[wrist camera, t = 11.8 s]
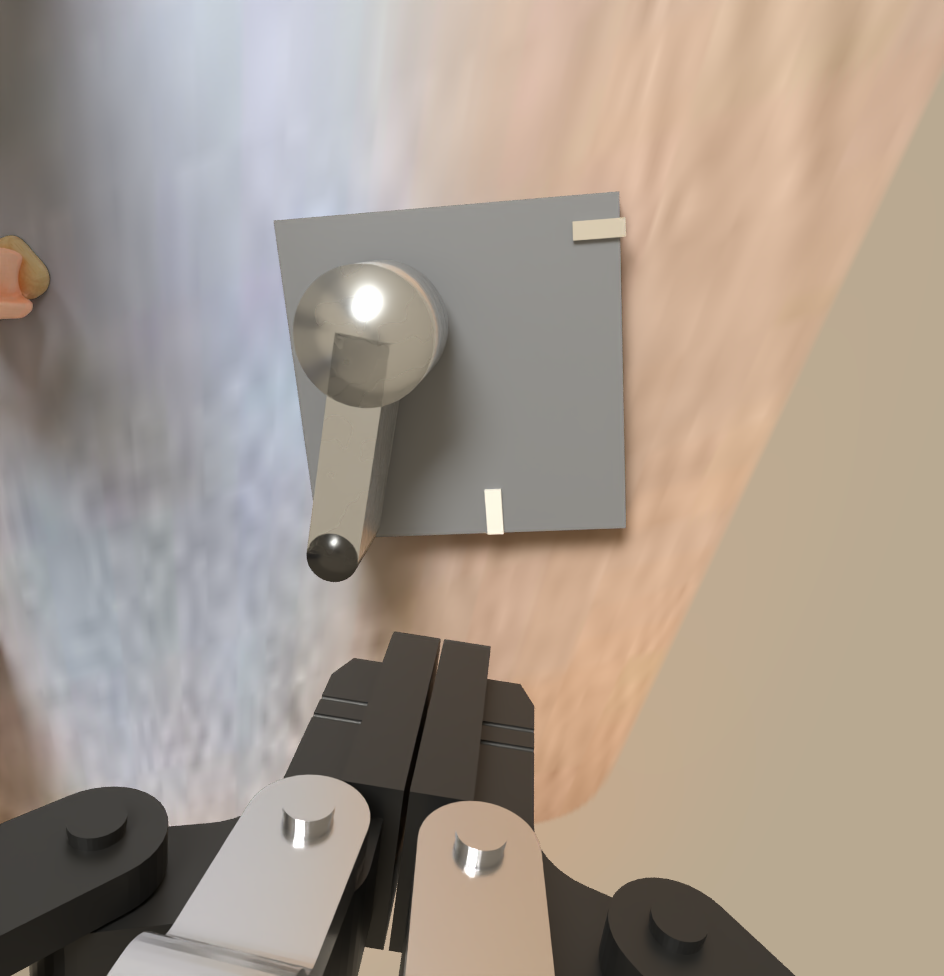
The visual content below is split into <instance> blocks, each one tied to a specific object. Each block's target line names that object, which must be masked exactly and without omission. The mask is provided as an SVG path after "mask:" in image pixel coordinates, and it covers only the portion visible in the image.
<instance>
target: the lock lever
mask: <svg viewBox="0 0 944 976" xmlns="http://www.w3.org/2000/svg"><path fill="white" fill-rule="evenodd" d="M447 336H448V317H447V312H446V308H445V305H444V302H443V300H442V297H441V295H440V294H439V292H438V290H437V289H436V287H435V286H434V285H433V284H432V282H431V281H430V280H429V279H428V278H427V277H426V276H425V275H423V274H422V273H421V272H420V271H418V270H416V269H415V268H413V267H411V266H409V265H406V264H404V263H401V262H397V261H391V260H376V261H369V262H362V263H355V264H348V265H343V266H340V267H337V268H334V269H332V270H330V271H328V272H326V273H325V274H323V275H321V276H320V277H319V278H318V279H316V280H315V281H314V282H313V283H312V284H311V285H310V286H309V288H308V289H307V290H306V291H305V293H304V295H303V296H302V298H301V300H300V302H299V304H298V306H297V310H296V313H295V317H294V323H293V341H294V347H295V352H296V355H297V358H298V361H299V363H300V365H301V367H302V369H303V371H304V372H305V374H306V375H307V377H308V378H309V379H310V381H311V382H312V383H313V384H314V385H315V386H316V387H317V388H318V389H319V390H320V391H321V392H323V393H324V394H325V395H327V398H326V406H325V414H324V422H323V430H322V437H321V445H320V453H319V461H318V469H317V477H316V485H315V492H314V500H313V508H312V516H311V524H310V532H309V540H308V547H307V562H308V564H309V567H310V568H311V570H312V571H313V572H314V573H315V574H316V575H317V576H318V577H320V578H321V579H323V580H326V581H330V582H340V581H343V580H346V579H347V578H349V577H350V576H351V575H352V574H353V573H354V572H355V570H356V568H357V567H358V565H359V563H360V562H361V560H362V558H363V557H364V555H365V553H366V552H367V550H368V548H369V546H370V545H371V543H372V541H373V540H374V538H375V536H376V535H377V533H378V531H379V527H380V520H381V514H382V508H383V501H384V495H385V488H386V482H387V476H388V469H389V463H390V457H391V450H392V444H393V437H394V431H395V425H396V418H397V412H398V406H399V400H400V399H401V398H403V397H405V396H406V395H407V394H408V393H410V392H411V391H412V390H413V389H414V388H415V387H416V386H417V385H418V384H419V383H420V382H421V380H422V379H423V378H424V377H425V376H426V375H427V374H428V373H429V372H430V371H431V370H432V368H433V367H434V366H435V365H436V363H437V362H438V361H439V359H440V357H441V355H442V353H443V351H444V348H445V345H446V341H447Z"/></svg>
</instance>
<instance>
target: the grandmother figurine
mask: <svg viewBox="0 0 944 976" xmlns="http://www.w3.org/2000/svg"><path fill="white" fill-rule="evenodd" d="M49 281H50V277H49V274H48V270H47V268H46V266H45V265H44V264H43V262H42V261H41V260H40V259H39V258H38V257H37V256H36V254H35V253H34V252H33V251H32V250H31V249H30V248H29V246H28V245H27V244H26V243H25V242H24V241H23V240H22V239H20V238H19V237H16V236H12V235H9V236H5V237H3V238H1V239H0V320H1V319H17V318H23V317H25V316H26V315H28V314H29V313H30V312H31V311H32V308H33V303H32V302H31V301H30V300H28V299H34V298H37V297H38V296H40V295H42V294H43V293H44V292H45V291H46V290H47V288H48V285H49Z"/></svg>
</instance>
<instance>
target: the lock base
mask: <svg viewBox="0 0 944 976" xmlns="http://www.w3.org/2000/svg"><path fill="white" fill-rule="evenodd" d="M274 227H275V234H276V241H277V248H278V255H279V263H280V270H281V277H282V284H283V291H284V298H285V305H286V312H287V319H288V326H289V333H290V341H291V348H292V355H293V362H294V369H295V376H296V383H297V390H298V397H299V404H300V411H301V419H302V426H303V433H304V440H305V447H306V454H307V461H308V468H309V475H310V482H311V489H312V497H313V500H314V492H315V485H316V477H317V469H318V461H319V453H320V445H321V437H322V430H323V422H324V414H325V406H326V398H327V395H325V394H324V393H323V392H321V391H320V390H319V389H318V388H317V387H316V386H315V385H314V384H313V383H312V382H311V381H310V379H309V378H308V377H307V375H306V374H305V372H304V371H303V369H302V367H301V365H300V363H299V361H298V358H297V355H296V352H295V347H294V341H293V323H294V317H295V313H296V310H297V306H298V304H299V302H300V300H301V298H302V296H303V295H304V293H305V291H306V290H307V289H308V288H309V286H310V285H311V284H312V283H313V282H314V281H315V280H316V279H318V278H319V277H320V276H321V275H323V274H325V273H326V272H328V271H330V270H332V269H334V268H337V267H340V266H343V265H348V264H355V263H362V262H369V261H376V260H391V261H397V262H401V263H404V264H406V265H409V266H411V267H413V268H415V269H416V270H418V271H420V272H421V273H422V274H423V275H425V276H426V277H427V278H428V279H429V280H430V281H431V282H432V284H433V285H434V286H435V287H436V289H437V290H438V292H439V294H440V295H441V297H442V300H443V302H444V305H445V308H446V312H447V317H448V336H447V341H446V345H445V348H444V351H443V353H442V355H441V357H440V359H439V361H438V362H437V363H436V365H435V366H434V367H433V368H432V370H431V371H430V372H429V373H428V374H427V375H426V376H425V377H424V378H423V379H422V380H421V382H420V383H419V384H418V385H417V386H416V387H415V388H414V389H413V390H412V391H411V392H410V393H408V394H407V395H406V396H405V397H403V398H401V399H400V400H399V406H398V412H397V418H396V425H395V431H394V437H393V444H392V450H391V457H390V463H389V469H388V476H387V482H386V488H385V495H384V501H383V508H382V514H381V520H380V527H379V531H378V533H377V535H376V536H375V537H390V536H418V535H445V534H473V533H488V535H490V534H504V532H528V531H556V530H584V529H612V528H626V507H625V457H624V407H623V356H622V306H621V256H620V237H626V219H625V217H623V218H620V206H619V192H607V193H595V194H583V195H572V196H560V197H548V198H536V199H524V200H512V201H500V202H489V203H477V204H465V205H453V206H441V207H429V208H418V209H406V210H394V211H382V212H370V213H358V214H346V215H335V216H323V217H311V218H299V219H287V220H275V221H274Z"/></svg>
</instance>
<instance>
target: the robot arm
mask: <svg viewBox="0 0 944 976" xmlns="http://www.w3.org/2000/svg"><path fill="white" fill-rule="evenodd" d="M490 648H491V646H484V645H478V644H472V643H465V642H459V641H453V640H446V639H444V643H443V647H442V652H441V656H440V660H439V665H438V658H439V651H440V639H439V638H433V637H426V636H420V635H413V634H407V633H401V632H394V633H393V635H392V638H391V640H390V643H389V646H388V649H387V651H386V654H385V657H384V660H383V663H382V662H376V661H369V660H363V659H357V658H353V659H352V660H351V661H349V662H348V663H347V664H345V665H344V666H342V667H341V668H340V669H338V670H337V671H335V672H334V673H333V674H332V675H331V677H330V679H329V682H328V684H327V686H326V688H325V690H324V692H323V694H322V699H320V701H319V703H318V705H317V707H316V710H315V712H314V716H313V717H312V718H311V720H310V722H309V725H308V727H307V729H306V731H305V733H304V735H303V738H302V740H301V742H300V744H299V746H298V748H297V750H296V753H295V755H294V757H293V759H292V761H291V763H290V766H289V768H288V770H287V772H286V774H285V776H284V779H281V780H278V781H276V782H274V783H271V784H269V785H268V786H266V787H265V788H263V789H262V790H260V791H259V792H258V793H257V794H256V795H255V796H254V797H253V799H252V800H251V801H250V802H249V804H248V806H247V807H246V809H245V810H244V812H243V814H242V815H241V816H239V817H236V818H234V819H230V820H226V821H221V822H214V823H206V824H194V825H182V826H169V827H168V816H167V813H166V810H165V808H164V807H163V806H162V804H161V803H160V802H159V801H158V800H157V799H156V798H154V797H153V796H151V795H149V794H148V793H145V792H143V791H140V790H137V789H132V788H127V787H101V788H94V789H89V790H85V791H81V792H78V793H75V794H73V795H70V796H67V797H65V798H62V799H60V800H58V801H55V802H53V803H50V804H48V805H45V806H43V807H40V808H38V809H36V810H33V811H31V812H28V813H26V814H23V815H21V816H19V817H16V818H14V819H11V820H9V821H6V822H4V823H2V824H0V976H11V975H13V974H15V973H17V972H18V971H20V970H22V969H24V968H26V967H28V966H29V970H30V976H358V972H359V968H360V964H361V959H362V955H363V951H364V947H369V948H375V949H381V950H383V949H384V944H385V940H386V934H387V930H388V926H389V921H390V916H391V912H392V907H393V902H394V897H395V892H396V888H397V892H396V901H395V908H394V915H393V923H392V930H391V938H390V946H389V951H395V952H401V953H402V956H401V964H400V970H399V976H795V975H794V974H793V973H792V972H790V970H789V969H788V968H786V967H785V966H784V965H783V964H782V963H781V962H780V961H779V960H777V958H776V957H775V956H773V955H772V954H771V953H770V952H769V951H768V950H767V949H766V948H765V947H764V946H763V945H762V944H761V943H760V942H758V941H757V940H756V939H755V938H754V937H753V936H752V935H751V934H750V933H749V932H748V931H747V930H745V929H744V928H743V927H742V926H741V925H740V924H739V923H738V922H737V921H736V920H735V919H733V917H731V916H730V915H729V914H728V913H727V912H726V911H725V910H724V909H723V908H722V907H721V906H720V905H718V904H717V903H716V902H715V901H714V900H712V899H711V898H710V897H708V896H707V895H705V894H703V893H702V892H700V891H698V890H696V889H695V888H692V887H691V886H688V885H685V884H683V883H680V882H677V881H673V880H669V879H663V878H643V879H637V880H635V881H631V882H629V883H627V884H625V885H624V886H622V887H621V888H620V889H619V890H618V891H617V892H616V893H615V894H614V896H613V898H612V897H610V896H607V895H605V894H603V893H600V892H598V891H596V890H594V889H591V888H589V887H587V886H585V885H583V884H581V883H579V882H577V881H575V880H573V879H571V878H570V877H569V876H567V875H566V874H564V873H563V872H562V871H560V870H559V869H558V868H557V867H556V866H554V865H553V863H552V862H551V861H550V860H549V859H548V858H547V857H546V855H545V854H544V853H543V851H542V850H541V847H540V843H539V840H538V838H537V836H536V834H535V833H534V753H533V752H534V705H533V703H532V702H531V700H530V699H529V697H528V696H527V694H526V692H525V691H524V689H523V688H522V686H521V684H515V683H509V682H502V681H496V680H490V679H487V676H488V667H489V658H490ZM437 666H438V669H437ZM436 673H437V674H436ZM397 883H398V885H397Z"/></svg>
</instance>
